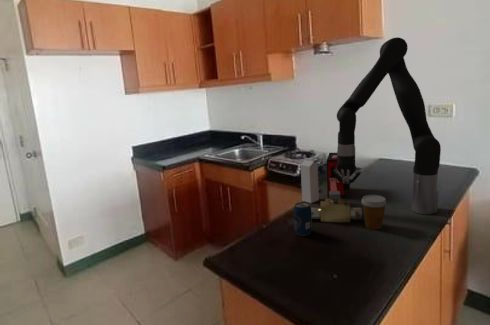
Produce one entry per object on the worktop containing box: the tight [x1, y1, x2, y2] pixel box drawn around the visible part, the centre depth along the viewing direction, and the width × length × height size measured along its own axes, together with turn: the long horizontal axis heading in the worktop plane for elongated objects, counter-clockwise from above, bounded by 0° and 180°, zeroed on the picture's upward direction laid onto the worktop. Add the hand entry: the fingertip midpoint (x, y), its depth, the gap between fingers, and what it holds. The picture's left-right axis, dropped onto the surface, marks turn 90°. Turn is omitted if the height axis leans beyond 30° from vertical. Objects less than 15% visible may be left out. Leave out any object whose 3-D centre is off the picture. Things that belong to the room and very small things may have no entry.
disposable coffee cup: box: [360, 194, 388, 231], centre depth 134 cm, size 10×10×12 cm
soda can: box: [293, 201, 313, 237], centre depth 134 cm, size 7×7×12 cm
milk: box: [300, 157, 320, 204], centre depth 167 cm, size 6×6×22 cm
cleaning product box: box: [326, 152, 347, 199], centre depth 175 cm, size 16×9×20 cm, turn 161°
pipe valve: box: [311, 198, 363, 223], centre depth 145 cm, size 25×7×9 cm, turn 78°
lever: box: [328, 181, 341, 199], centre depth 150 cm, size 18×4×3 cm, turn 168°
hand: (346, 191), depth 151 cm, fingers closed
